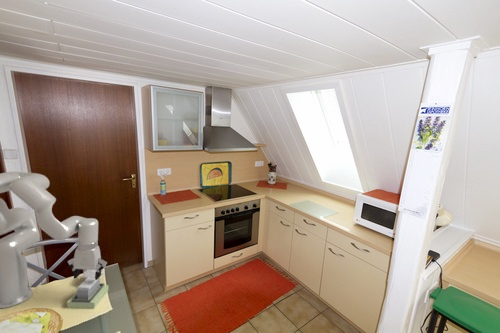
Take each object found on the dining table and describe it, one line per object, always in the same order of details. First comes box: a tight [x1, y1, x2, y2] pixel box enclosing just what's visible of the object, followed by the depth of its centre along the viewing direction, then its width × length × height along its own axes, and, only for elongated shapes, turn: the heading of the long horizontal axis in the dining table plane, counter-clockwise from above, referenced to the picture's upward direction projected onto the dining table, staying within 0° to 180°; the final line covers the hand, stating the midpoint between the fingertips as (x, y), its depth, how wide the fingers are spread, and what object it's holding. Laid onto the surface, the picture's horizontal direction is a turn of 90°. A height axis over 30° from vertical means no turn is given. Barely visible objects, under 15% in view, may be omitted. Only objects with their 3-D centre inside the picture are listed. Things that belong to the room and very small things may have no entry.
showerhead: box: [82, 267, 105, 280], centre depth 121 cm, size 9×7×10 cm
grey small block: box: [76, 277, 101, 300], centre depth 109 cm, size 5×9×6 cm, turn 3°
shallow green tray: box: [66, 282, 109, 309], centre depth 110 cm, size 12×12×4 cm
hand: (87, 277), depth 108 cm, fingers open, 9 cm apart
